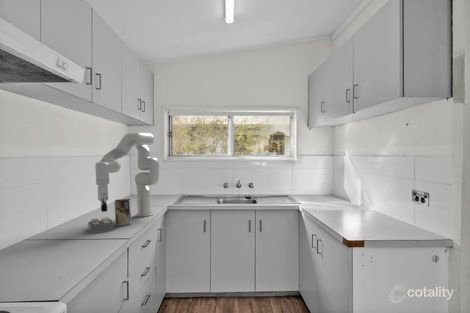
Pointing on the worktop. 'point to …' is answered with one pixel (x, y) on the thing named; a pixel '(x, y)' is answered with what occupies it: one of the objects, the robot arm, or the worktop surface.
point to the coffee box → (122, 212)
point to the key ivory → (105, 219)
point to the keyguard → (101, 227)
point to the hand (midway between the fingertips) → (104, 211)
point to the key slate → (94, 220)
